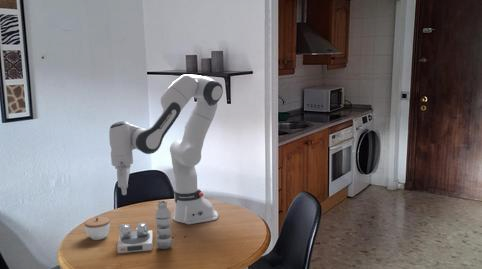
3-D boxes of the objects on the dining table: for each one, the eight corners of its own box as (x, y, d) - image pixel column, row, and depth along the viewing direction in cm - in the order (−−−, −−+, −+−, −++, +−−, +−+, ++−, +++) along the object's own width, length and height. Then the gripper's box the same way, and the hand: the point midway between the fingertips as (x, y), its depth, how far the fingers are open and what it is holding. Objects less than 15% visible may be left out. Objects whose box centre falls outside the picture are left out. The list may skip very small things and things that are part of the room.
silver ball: (148, 232, 185) (147, 222, 184) (148, 237, 180) (147, 226, 179) (137, 233, 184) (136, 223, 183) (136, 238, 179) (135, 227, 178)
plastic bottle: (157, 244, 181) (154, 200, 178) (173, 244, 182) (171, 199, 179) (155, 251, 175) (153, 205, 172) (171, 250, 176) (169, 204, 172)
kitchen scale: (152, 236, 190) (152, 228, 190) (152, 250, 176) (151, 241, 176) (120, 239, 188) (119, 231, 187) (117, 253, 174) (116, 245, 173)
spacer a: (131, 234, 183) (130, 223, 183) (130, 238, 179) (130, 227, 178) (120, 235, 183) (119, 224, 182) (119, 239, 178) (118, 228, 177)
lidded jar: (103, 230, 198) (102, 211, 196) (115, 237, 190) (113, 217, 189) (81, 237, 191) (80, 217, 189) (92, 244, 183) (90, 223, 181)
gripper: (128, 165, 170) (131, 197, 173) (130, 154, 190) (133, 183, 193) (112, 166, 169) (115, 199, 172) (116, 155, 189) (119, 185, 191)
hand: (125, 191), depth 182 cm, fingers open, 8 cm apart
